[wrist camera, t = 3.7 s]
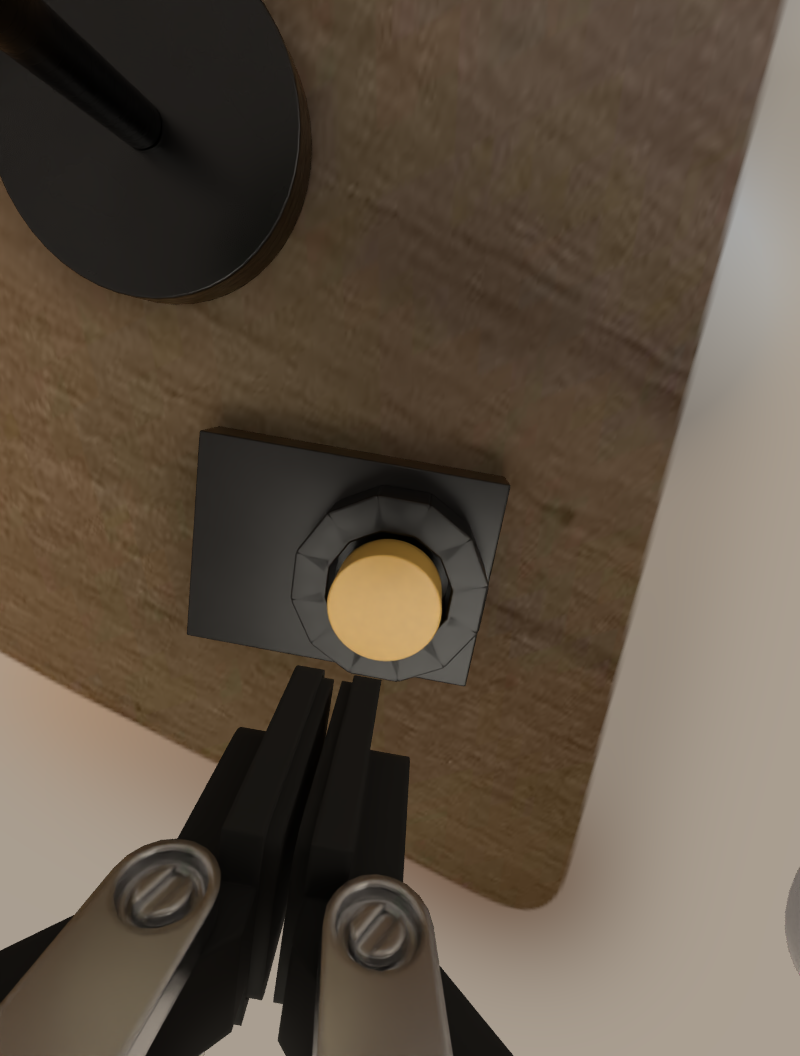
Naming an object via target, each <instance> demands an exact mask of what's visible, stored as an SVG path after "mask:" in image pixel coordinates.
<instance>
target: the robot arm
mask: <svg viewBox="0 0 800 1056" xmlns="http://www.w3.org/2000/svg"><path fill="white" fill-rule="evenodd" d="M324 675H325V671H324V670H321V669H316V668H310V667H304V666H299V665H297V666H296V668H295V670H294V672H293V674H292V676H291V678H290V680H289V683H288V685H287V687H286V689H285V691H284V694H283V696H282V698H281V700H280V702H279V704H278V707H277V709H276V711H275V713H274V715H273V718H272V720H271V722H270V724H269V726H268V728H267V731H261V730H255V729H249V728H244V727H240V728H238V729H237V731H236V732H235V734H234V735H233V737H232V739H231V741H230V743H229V745H228V746H227V748H226V750H225V752H224V754H223V756H222V757H221V759H220V761H219V763H218V765H217V767H216V769H215V770H214V772H213V774H212V776H211V778H210V780H209V781H208V783H207V785H206V787H205V789H204V791H203V793H202V794H201V796H200V798H199V800H198V802H197V804H196V805H195V807H194V809H193V811H192V813H191V815H190V816H189V818H188V820H187V822H186V824H185V826H184V828H183V829H182V831H181V833H180V835H179V837H178V838H177V839H169V840H160V841H157V842H154V843H151V844H147V845H144V846H143V847H141V848H139V849H137V850H135V851H134V852H132V853H130V854H129V855H127V856H126V857H125V858H124V859H123V860H122V861H121V862H119V863H118V864H117V865H116V866H115V867H114V868H113V869H112V871H111V872H110V873H109V874H108V875H107V876H106V878H105V879H104V880H103V881H102V882H101V884H100V885H99V886H98V887H97V888H96V890H95V891H94V892H93V893H92V894H91V896H90V897H89V898H88V899H87V900H86V902H85V903H84V904H83V905H82V906H81V908H80V909H79V910H78V912H76V914H75V915H73V916H71V917H69V918H67V919H65V920H63V921H61V922H59V923H57V924H55V925H52V926H50V927H48V928H46V929H44V930H42V931H40V932H38V933H36V934H34V935H32V936H30V937H28V938H25V939H23V940H21V941H19V942H17V943H15V944H13V945H11V946H9V947H7V948H5V949H3V950H1V951H0V1056H204V1054H205V1051H206V1050H207V1049H209V1048H210V1047H211V1046H213V1045H214V1044H216V1043H217V1042H218V1041H220V1040H221V1039H222V1038H224V1037H225V1036H226V1035H228V1034H229V1033H231V1031H232V1028H233V1025H234V1024H235V1025H240V1026H241V1024H242V1021H243V1018H244V1014H245V1011H246V1007H247V1004H248V1000H249V998H252V999H258V1000H262V999H263V996H264V993H265V989H266V986H267V981H268V978H269V974H270V971H271V967H272V963H273V960H274V956H275V952H276V948H277V945H278V941H279V937H280V933H281V929H282V926H283V922H284V928H283V936H282V942H281V950H280V957H279V964H278V972H277V978H276V986H275V992H274V1001H273V1002H275V1003H280V1004H283V1008H282V1015H281V1022H280V1028H279V1035H278V1042H279V1044H280V1046H281V1047H282V1049H283V1051H284V1053H285V1055H286V1056H513V1055H512V1053H511V1052H510V1051H509V1050H508V1049H507V1047H506V1046H505V1045H504V1044H503V1043H502V1041H501V1040H500V1039H499V1037H498V1036H497V1035H496V1034H495V1033H494V1031H493V1030H492V1029H491V1028H490V1027H489V1025H488V1024H487V1023H486V1022H485V1021H484V1019H483V1018H482V1017H481V1016H480V1015H479V1013H478V1012H477V1011H476V1010H475V1008H474V1007H473V1006H472V1005H471V1003H470V1002H469V1001H468V1000H467V999H466V997H465V996H464V995H463V994H462V992H461V991H460V990H459V989H458V988H457V986H456V985H455V984H454V983H453V982H452V980H451V979H450V978H449V977H448V975H447V974H446V973H445V972H444V970H443V969H442V968H441V967H440V966H439V960H438V953H437V947H436V940H435V933H434V926H433V923H432V920H431V917H430V913H429V910H428V908H427V907H426V905H425V904H424V902H423V901H422V899H421V897H420V896H419V895H418V894H417V893H416V892H415V891H414V890H412V889H411V888H410V887H409V886H408V885H407V884H405V883H403V871H404V855H405V837H406V820H407V802H408V784H409V767H410V758H409V757H407V756H401V755H396V754H390V753H384V752H379V751H373V750H370V747H371V740H372V734H373V728H374V722H375V716H376V710H377V704H378V698H379V691H380V685H381V680H378V679H372V678H367V677H361V676H355V675H354V678H353V682H352V683H351V682H346V681H342V683H341V686H340V690H339V693H338V696H337V700H336V703H335V707H334V710H333V714H332V717H331V721H330V724H329V728H328V731H327V724H328V717H329V711H330V704H331V697H332V691H333V683H334V679H329V678H324ZM326 731H327V734H326ZM284 919H285V921H284Z"/></svg>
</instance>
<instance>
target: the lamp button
mask: <svg viewBox="0 0 800 1056" xmlns="http://www.w3.org/2000/svg"><path fill="white" fill-rule="evenodd" d="M327 613H328V618H329V621H330V624H331V627H332V629H333V631H334V632H335V634H336V635H337V637H338V638H339V639H340V641H341V642H342V643H343V644H344V645H345V646H347V647H348V648H349V649H350V650H352V651H353V652H355V653H357V654H359V655H361V656H363V657H366V658H368V659H372V660H378V661H395V660H400V659H404V658H407V657H410V656H412V655H414V654H416V653H417V652H419V651H420V650H422V649H423V648H424V647H425V646H426V645H427V644H428V643H429V642H430V641H431V640H432V639H433V637H434V635H435V634H436V632H437V630H438V627H439V625H440V621H441V615H442V585H441V579H440V576H439V573H438V571H437V568H436V566H435V565H434V563H433V562H432V560H431V559H430V558H429V557H428V556H427V555H426V554H425V553H424V552H423V551H422V550H420V549H419V548H417V547H416V546H414V545H412V544H410V543H407V542H404V541H400V540H395V539H379V540H374V541H370V542H368V543H365V544H363V545H361V546H360V547H358V548H356V549H355V550H354V551H353V552H351V553H350V554H349V556H348V557H347V558H346V559H345V561H344V562H343V564H342V566H341V567H340V569H339V571H338V573H337V575H336V577H335V579H334V581H333V583H332V585H331V587H330V590H329V593H328V598H327Z"/></svg>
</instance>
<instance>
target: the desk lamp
mask: <svg viewBox="0 0 800 1056" xmlns="http://www.w3.org/2000/svg"><path fill="white" fill-rule="evenodd" d="M311 151H312V141H311V126H310V118H309V112H308V107H307V101H306V97H305V94H304V90H303V87H302V83H301V80H300V77H299V74H298V72H297V69H296V67H295V65H294V62H293V60H292V58H291V55H290V53H289V51H288V49H287V47H286V45H285V42H284V40H283V38H282V36H281V34H280V32H279V30H278V28H277V26H276V24H275V22H274V20H273V19H272V17H271V15H270V13H269V11H268V10H267V8H266V6H265V4H264V3H263V2H262V0H0V176H1V178H2V181H3V183H4V185H5V188H6V190H7V192H8V194H9V196H10V198H11V199H12V201H13V203H14V205H15V207H16V208H17V210H18V212H19V214H20V215H21V216H22V218H23V219H24V221H25V222H26V224H27V225H28V226H29V228H30V229H31V231H32V232H33V233H34V234H35V235H36V236H37V238H38V239H39V240H40V241H41V242H42V243H43V244H44V246H45V247H46V248H47V249H48V250H49V251H50V252H51V253H53V254H54V255H55V256H56V257H57V258H58V259H59V260H60V261H61V262H62V263H64V264H65V265H66V266H68V267H69V268H71V269H72V270H73V271H75V272H76V273H78V274H79V275H80V276H82V277H84V278H86V279H88V280H89V281H91V282H93V283H95V284H97V285H99V286H101V287H104V288H106V289H109V290H112V291H114V292H117V293H120V294H124V295H128V296H132V297H136V298H140V299H144V300H148V301H152V302H156V303H165V304H175V305H176V304H194V303H199V302H205V301H210V300H213V299H216V298H218V297H221V296H224V295H227V294H229V293H231V292H233V291H235V290H236V289H238V288H240V287H242V286H244V285H245V284H246V283H248V282H249V281H250V280H252V279H253V278H255V277H256V276H257V275H258V274H259V273H260V272H261V271H262V270H264V269H265V268H266V267H267V266H268V265H269V264H270V263H271V262H272V260H273V259H274V258H275V256H276V255H277V254H278V253H279V251H280V250H281V249H282V247H283V246H284V244H285V242H286V241H287V239H288V237H289V236H290V234H291V232H292V230H293V228H294V226H295V224H296V221H297V219H298V217H299V214H300V212H301V209H302V206H303V202H304V199H305V195H306V192H307V187H308V181H309V175H310V169H311Z"/></svg>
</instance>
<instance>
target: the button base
mask: <svg viewBox="0 0 800 1056" xmlns="http://www.w3.org/2000/svg"><path fill="white" fill-rule="evenodd" d="M509 490H510V484H509V483H508V481H507V480H506V478H505V477H503V476H498V475H492V474H486V473H481V472H475V471H469V470H464V469H458V468H452V467H447V466H441V465H435V464H430V463H424V462H418V461H413V460H407V459H401V458H396V457H390V456H384V455H379V454H373V453H367V452H362V451H356V450H350V449H345V448H339V447H333V446H328V445H322V444H316V443H311V442H305V441H299V440H294V439H288V438H282V437H277V436H271V435H265V434H260V433H254V432H248V431H243V430H237V429H231V428H226V427H220V426H218V427H214V428H210V429H205V430H201V431H200V437H199V453H198V469H197V484H196V500H195V516H194V531H193V547H192V563H191V579H190V594H189V610H188V626H187V635H191V636H197V637H202V638H207V639H213V640H218V641H224V642H229V643H234V644H240V645H245V646H250V647H256V648H261V649H267V650H272V651H277V652H283V653H288V654H293V655H299V656H304V657H310V658H315V659H320V660H326V661H331V662H335V663H337V664H338V665H339V666H341V667H342V668H343V669H345V670H346V671H347V672H350V673H352V674H358V675H363V676H369V677H374V678H379V679H385V680H390V681H395V682H397V681H402V680H406V679H409V678H413V677H417V678H422V679H428V680H433V681H439V682H444V683H449V684H455V685H460V686H465V685H466V681H467V677H468V672H469V668H470V663H471V659H472V654H473V650H474V646H475V641H476V637H477V632H478V631H479V628H480V623H481V619H482V615H483V610H484V606H485V601H486V597H487V592H488V585H489V579H490V575H491V570H492V566H493V561H494V557H495V552H496V548H497V544H498V539H499V535H500V530H501V526H502V521H503V517H504V513H505V508H506V504H507V499H508V495H509ZM379 539H395V540H400V541H404V542H407V543H410V544H412V545H414V546H416V547H417V548H419V549H420V550H422V551H423V552H424V553H425V554H426V555H427V556H428V557H429V558H430V559H431V560H432V562H433V563H434V565H435V566H436V568H437V571H438V573H439V576H440V579H441V585H442V615H441V621H440V625H439V627H438V630H437V632H436V634H435V635H434V637H433V639H432V640H431V641H430V642H429V643H428V644H427V645H426V646H425V647H424V648H423V649H422V650H420V651H419V652H417V653H416V654H414V655H412V656H410V657H407V658H404V659H400V660H395V661H378V660H372V659H368V658H366V657H363V656H361V655H359V654H357V653H355V652H353V651H352V650H350V649H349V648H348V647H347V646H345V645H344V644H343V643H342V642H341V641H340V639H339V638H338V637H337V635H336V634H335V632H334V631H333V629H332V627H331V624H330V621H329V618H328V613H327V598H328V593H329V590H330V587H331V585H332V583H333V581H334V579H335V577H336V575H337V573H338V571H339V569H340V567H341V566H342V564H343V562H344V561H345V559H346V558H347V557H348V556H349V554H350V553H351V552H353V551H354V550H355V549H356V548H358V547H360V546H361V545H363V544H365V543H368V542H370V541H374V540H379Z"/></svg>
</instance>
